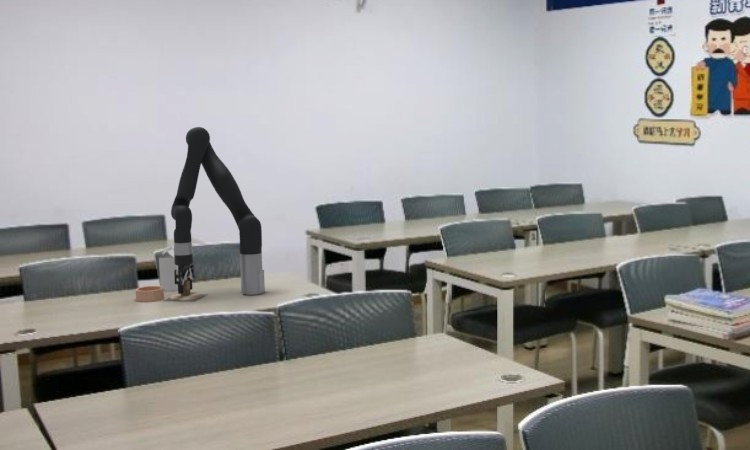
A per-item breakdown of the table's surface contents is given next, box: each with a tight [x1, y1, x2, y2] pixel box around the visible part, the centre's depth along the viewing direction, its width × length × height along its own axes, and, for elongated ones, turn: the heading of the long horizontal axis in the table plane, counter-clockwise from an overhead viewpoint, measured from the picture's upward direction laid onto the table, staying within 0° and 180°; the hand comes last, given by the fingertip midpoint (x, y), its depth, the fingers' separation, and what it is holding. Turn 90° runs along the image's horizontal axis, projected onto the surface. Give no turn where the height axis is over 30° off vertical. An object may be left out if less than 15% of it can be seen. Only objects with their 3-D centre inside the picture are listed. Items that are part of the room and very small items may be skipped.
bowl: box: [135, 285, 165, 303], centre depth 340 cm, size 11×11×5 cm
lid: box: [169, 280, 203, 302], centre depth 341 cm, size 13×13×7 cm
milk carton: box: [158, 246, 178, 292], centre depth 359 cm, size 7×7×19 cm
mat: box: [163, 293, 209, 303], centre depth 342 cm, size 14×14×1 cm
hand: (185, 291), depth 341 cm, fingers open, 8 cm apart
